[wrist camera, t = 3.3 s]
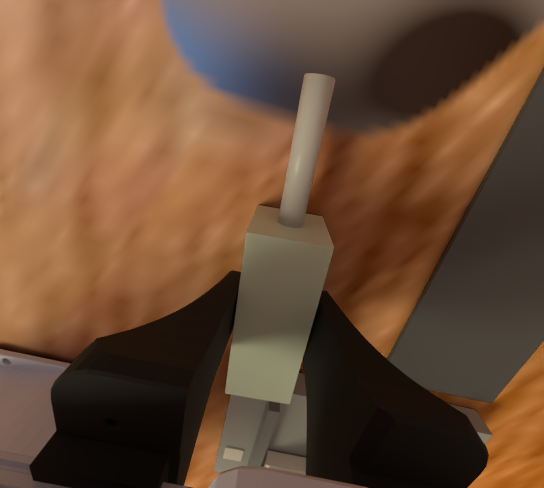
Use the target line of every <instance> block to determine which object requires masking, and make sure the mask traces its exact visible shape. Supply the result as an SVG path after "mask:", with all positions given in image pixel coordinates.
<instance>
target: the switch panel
mask: <svg viewBox="0 0 544 488" xmlns="http://www.w3.org/2000/svg"><path fill="white" fill-rule="evenodd" d="M449 405H451V404H449ZM451 406H452V407H454V408H456V409H457V410H459V411H460V412H462V413H464V414H465V415H467V417H468V418H469V420H470V422H471V423H472V425H473V427H474V428H475V430H476V431H477V433H478V435H479V436H480V438H481V440H482V441H483V443H484V444H485V443H486V442H487V441H488V440H489V439H490V438H491V437H492V436H493V435H492V433H491V432H490V430H489V429H488V427H487V426H486V424H485V423H484V421H483V420H482V418H481V417H480V415H479V414H478V412H477V411H476V410H475V409H470V408H465V407H460V406H456V405H451ZM306 437H307V399H306V386H305V376H304V374H303V373H298V377H297V380H296V384H295V387H294V391H293V394H292V398H291V401H290V404H284V403H278V402H272V401H266V400H260V399H255V398H249V397H243V396H237V395H231V396H230V400H229V405H228V409H227V414H226V418H225V422H224V427H223V431H222V436H221V440H220V445H219V449H218V454H217V458H216V463H215V467H214V471H216V472H221V473H222V472H223V471H226V470H229V469H232V468H235V467H239V466H258V467H261V466H262V463H263V460H264V458H265V455H266V452H267V450H270V451H275V452H280V453H285V454H290V455H295V456H300V457H305V458H306Z"/></svg>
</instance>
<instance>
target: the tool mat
mask: <svg viewBox="0 0 544 488" xmlns="http://www.w3.org/2000/svg"><path fill="white" fill-rule="evenodd" d="M543 341H544V68H543V70H542V72H541V74H540V76H539V78H538V80H537V81H536V83H535V85H534V87H533V89H532V91H531V93H530V94H529V96H528V98H527V100H526V102H525V104H524V106H523V107H522V109H521V111H520V113H519V115H518V117H517V119H516V120H515V122H514V124H513V126H512V128H511V130H510V132H509V133H508V135H507V137H506V139H505V141H504V143H503V145H502V146H501V148H500V150H499V152H498V154H497V156H496V158H495V159H494V161H493V163H492V165H491V167H490V169H489V171H488V172H487V174H486V176H485V178H484V180H483V182H482V184H481V185H480V187H479V189H478V191H477V193H476V195H475V197H474V198H473V200H472V202H471V204H470V206H469V208H468V210H467V211H466V213H465V215H464V217H463V219H462V221H461V223H460V224H459V226H458V228H457V230H456V232H455V234H454V236H453V237H452V239H451V241H450V243H449V245H448V247H447V249H446V250H445V252H444V254H443V256H442V258H441V260H440V262H439V263H438V265H437V267H436V269H435V271H434V273H433V275H432V276H431V278H430V280H429V282H428V284H427V286H426V288H425V289H424V291H423V293H422V295H421V297H420V299H419V301H418V302H417V304H416V306H415V308H414V310H413V312H412V314H411V315H410V317H409V319H408V321H407V323H406V325H405V326H404V328H403V330H402V332H401V334H400V336H399V338H398V339H397V341H396V343H395V345H394V347H393V349H392V351H391V352H390V354H389V356H388V358H387V360H388V361H390V362H391V363H392V364H393V365H394V366H396V367H397V368H398V369H399V370H400V371H402V372H403V373H404V374H405V375H407V376H408V377H409V378H411V379H412V380H413V381H415V382H416V383H418V384H419V385H420V386H422V387H423V388H425V389H426V390H431V391H436V392H440V393H445V394H450V395H455V396H459V397H464V398H469V399H474V400H478V401H483V402H488V403H492V402H493V401H494V400H495V398H496V397H497V396H498V395H499V394H500V392H501V391H502V390H503V389H504V388H505V386H506V385H507V384H508V383H509V382H510V381H511V379H512V378H513V377H514V376H515V375H516V373H517V372H518V371H519V370H520V369H521V367H522V366H523V365H524V364H525V363H526V361H527V360H528V359H529V358H530V357H531V355H532V354H533V353H534V352H535V351H536V349H537V348H538V347H539V346H540V345H541V343H542V342H543Z"/></svg>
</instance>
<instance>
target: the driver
mask: <svg viewBox="0 0 544 488" xmlns="http://www.w3.org/2000/svg"><path fill="white" fill-rule="evenodd" d="M334 84H335V78H333V77H330V76H326V75H322V74H315V73H307V74H305V76H304V81H303V86H302V91H301V97H300V102H299V108H298V113H297V119H296V124H295V130H294V135H293V141H292V146H291V152H290V157H289V163H288V168H287V174H286V179H285V185H284V190H283V196H282V201H281V207H280V209H279V208H273V207H267V206H262V205H258V206H257V208H256V210H255V213H254V215H253V218H252V220H251V222H250V225H249V227H248V230H247V232H246V239H245V246H244V254H243V261H242V269H241V276H240V284H239V291H238V298H237V306H236V313H235V321H234V328H233V336H232V343H231V351H230V358H229V366H228V373H227V381H226V388H225V394H231V395H237V396H243V397H249V398H255V399H260V400H266V401H272V402H278V403H284V404H290V401H291V398H292V394H293V391H294V387H295V384H296V380H297V377H298V373H299V370H300V366H301V363H302V359H303V356H304V352H305V349H306V345H307V342H308V338H309V335H310V331H311V328H312V324H313V321H314V317H315V314H316V310H317V307H318V303H319V300H320V296H321V293H322V289H323V286H324V282H325V279H326V275H327V272H328V268H329V265H330V261H331V258H332V254H333V251H334V245H333V243H332V240H331V237H330V235H329V232H328V229H327V227H326V224H325V221H324V219H323V216H318V215H313V214H307V213H306V209H307V205H308V200H309V196H310V191H311V187H312V182H313V178H314V173H315V169H316V164H317V160H318V156H319V151H320V147H321V142H322V138H323V133H324V129H325V124H326V120H327V115H328V111H329V106H330V102H331V98H332V92H333V89H334Z"/></svg>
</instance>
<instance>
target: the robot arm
mask: <svg viewBox="0 0 544 488" xmlns="http://www.w3.org/2000/svg"><path fill="white" fill-rule="evenodd" d="M240 276H241V272H237V271H233V270H232V271H230V272H229V273H228V274H227V275H226V276H225V277H224V278H223V279H222V280H221V281H220V282H219V283H217V284H216V285H215V286H214V287H213V288H211V289H210V290H209V291H208V292H206V293H205V294H203V295H202V296H201V297H199V298H198V299H196V300H195V301H193V302H192V303H190V304H189V305H187V306H185V307H183V308H182V309H180V310H178V311H176V312H174V313H172V314H170V315H168V316H165V317H163V318H161V319H159V320H156V321H154V322H151V323H148V324H146V325H143V326H140V327H137V328H134V329H131V330H128V331H124V332H120V333H116V334H113V335H109V336H105V337H101V338H97V339H96V340H95V341H94V342H93V343H91V344H90V345H89V346H88V347H87V348H86V349H85V350H84V351H83V352H82V353H81V354H80V355H79V356H78V357H77V358H76V359H75V360H74V361H73V362H72V363H66V362H61V361H56V360H51V359H46V358H42V357H37V356H32V355H27V354H22V353H17V352H12V351H8V350H3V349H0V488H192V487H186V486H184V483H185V479H186V476H187V472H188V468H189V465H190V461H191V457H192V454H193V450H194V447H195V443H196V439H197V436H198V432H199V429H200V425H201V422H202V418H203V414H204V411H205V407H206V404H207V400H208V397H209V393H210V390H211V386H212V383H213V380H214V377H215V374H216V371H217V368H218V366H219V363H220V361H221V358H222V356H223V353H224V350H225V348H226V345H227V343H228V340H229V338H230V335H231V332H232V330H233V327H234V321H235V313H236V306H237V298H238V291H239V284H240ZM303 366H304V376H305V386H306V399H307V437H306V475H303V474H297V473H292V472H287V471H282V470H277V469H272V468H267V467H258V466H239V467H235V468H232V469H229V470H226V471H223V472H222V473H220V474H219V475H218V476H217V477H216V478H215V479H214V481H213V482H212V483H211V484H210V486H209V488H467V487H468V486H469V485H470V484H471V483H472V482H473V481H474V480H475V479H476V478H477V477H478V476H479V475H480V474H481V473H482V471H483V470H484V468H485V467H486V465H487V461H488V456H489V455H488V451H487V448H486V446H485V444H484V443H483V441H482V440H481V438H480V436H479V435H478V433H477V431H476V430H475V428H474V427H473V425H472V423H471V422H470V420H469V418H468V417H467V415H465V414H464V413H462V412H460V411H459V410H457V409H456V408H454V407H452V406H451V405H449V404H448V403H446V402H444V401H443V400H441V399H440V398H438V397H436V396H435V395H433V394H432V393H430V392H429V391H427V390H426V389H425V388H423V387H422V386H420V385H419V384H418V383H416V382H415V381H413V380H412V379H411V378H409V377H408V376H407V375H405V374H404V373H403V372H402V371H400V370H399V369H398V368H397V367H396V366H394V365H393V364H392V363H391V362H390V361H388V360H387V359H386V358H385V357H384V356H383V355H382V354H381V353H379V352H378V351H377V350H376V349H375V348H374V347H373V346H372V345H371V344H370V343H369V342H368V341H367V340H366V339H365V338H364V337H363V336H362V334H361V333H360V332H359V331H358V330H357V329H356V328H355V327H354V325H353V324H352V323H351V322H350V321H349V319H348V318H347V317H346V316H345V314H344V313H343V312H342V311H341V309H340V308H339V307H338V305H337V304H336V303H335V301H334V300H333V299H332V297H331V296H330V295H329V293H328V292H327V291H324V290H322V293H321V296H320V300H319V303H318V307H317V310H316V314H315V317H314V321H313V324H312V328H311V331H310V335H309V338H308V342H307V345H306V349H305V352H304V356H303Z"/></svg>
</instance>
